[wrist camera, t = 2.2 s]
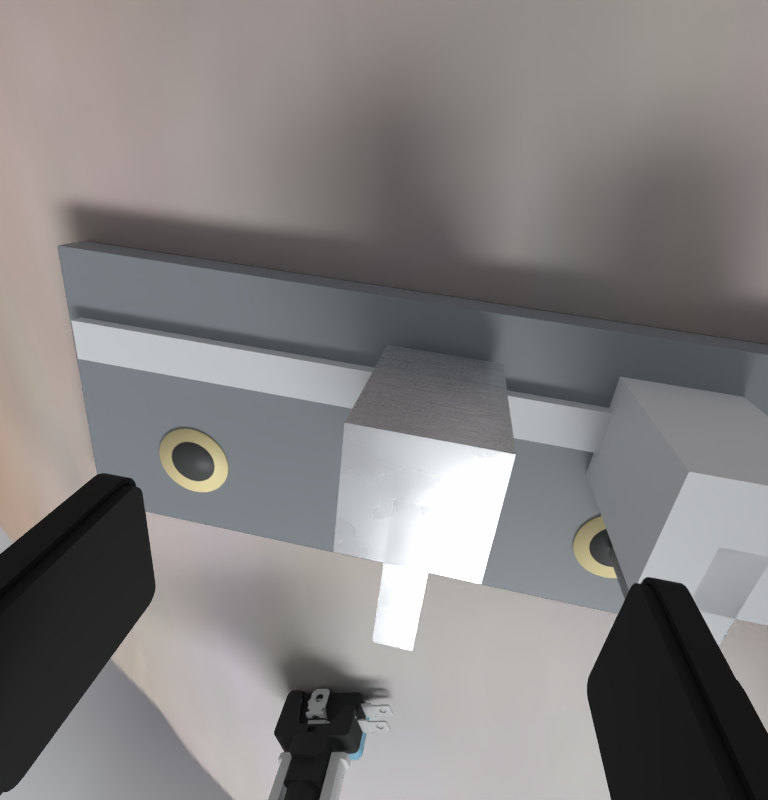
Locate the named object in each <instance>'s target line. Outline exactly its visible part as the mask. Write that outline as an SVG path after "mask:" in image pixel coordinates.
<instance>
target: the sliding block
mask: <svg viewBox="0 0 768 800" xmlns="http://www.w3.org/2000/svg"><path fill="white" fill-rule="evenodd" d="M515 456H516V452H515V445H514V437H513V430H512V423H511V416H510V408H509V401H508V394H507V387H506V380H505V372H504V365H503V364H500V363H494V362H488V361H482V360H476V359H470V358H464V357H458V356H452V355H446V354H440V353H434V352H428V351H422V350H416V349H409V348H403V347H397V346H391V345H387V347H386V348H385V350H384V352H383V354H382V356H381V357H380V359H379V361H378V363H377V365H376V367H375V368H374V370H373V372H372V374H371V376H370V377H369V379H368V381H367V383H366V385H365V386H364V388H363V390H362V392H361V394H360V396H359V397H358V399H357V401H356V403H355V405H354V406H353V408H352V410H351V412H350V414H349V415H348V417H347V419H346V421H345V423H344V435H343V446H342V458H341V469H340V481H339V492H338V504H337V515H336V527H335V538H334V550H333V552H336V553H341V554H346V555H350V556H355V557H359V558H364V559H369V560H373V561H378V562H382V563H384V565H383V572H382V578H381V585H380V592H379V599H378V606H377V612H376V619H375V626H374V633H373V639H372V642H376V643H380V644H385V645H389V646H393V647H397V648H402V649H406V650H410V651H412V649H413V644H414V639H415V634H416V630H417V625H418V620H419V615H420V610H421V605H422V600H423V595H424V590H425V585H426V580H427V575H428V572H429V573H433V574H438V575H442V576H447V577H452V578H456V579H461V580H465V581H470V582H475V583H479V584H481V582H482V578H483V574H484V571H485V567H486V563H487V560H488V556H489V552H490V548H491V545H492V541H493V537H494V534H495V530H496V526H497V522H498V519H499V515H500V511H501V508H502V504H503V500H504V497H505V493H506V489H507V485H508V482H509V478H510V474H511V471H512V467H513V463H514V460H515Z"/></svg>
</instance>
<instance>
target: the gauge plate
mask: <svg viewBox="0 0 768 800" xmlns="http://www.w3.org/2000/svg"><path fill="white" fill-rule="evenodd" d="M58 252H59V258H60V264H61V269H62V275H63V281H64V287H65V292H66V298H67V304H68V310H69V315H70V321H71V327H72V333H73V338H74V344H75V350H76V356H77V361H78V367H79V373H80V378H81V384H82V390H83V396H84V401H85V407H86V413H87V419H88V424H89V430H90V436H91V442H92V447H93V453H94V459H95V465H96V470H97V475H98V474H101V473H107V474H112V475H117V476H123V477H128V478H131V479H133V480H134V481H135V483H136V486H137V487H139V488H140V489H141V490H142V493H143V499H144V507H145V511H146V512H150V513H155V514H159V515H164V516H169V517H173V518H178V519H182V520H187V521H192V522H196V523H201V524H205V525H210V526H215V527H219V528H224V529H228V530H233V531H238V532H242V533H247V534H251V535H256V536H261V537H265V538H270V539H274V540H279V541H284V542H288V543H293V544H297V545H302V546H307V547H311V548H316V549H320V550H325V551H330V552H333V550H334V538H335V527H336V515H337V504H338V492H339V481H340V469H341V458H342V446H343V435H344V423H345V421H346V419H347V417H348V415H349V414H350V412H351V410H352V408H353V406H354V405H355V403H356V401H357V399H358V397H359V396H360V394H361V392H362V390H363V388H364V386H365V385H366V383H367V381H368V379H369V377H370V376H371V374H372V372H373V370H374V368H375V367H376V365H377V363H378V361H379V359H380V357H381V356H382V354H383V352H384V350H385V348H386V347H387V345H391V346H397V347H403V348H409V349H416V350H422V351H428V352H434V353H440V354H446V355H452V356H458V357H464V358H470V359H476V360H482V361H488V362H494V363H500V364H503V365H504V372H505V380H506V387H507V394H508V401H509V408H510V416H511V423H512V430H513V437H514V445H515V452H516V456H515V460H514V463H513V467H512V471H511V474H510V478H509V482H508V485H507V489H506V493H505V497H504V500H503V504H502V508H501V511H500V515H499V519H498V522H497V526H496V530H495V534H494V537H493V541H492V545H491V548H490V552H489V556H488V560H487V563H486V567H485V571H484V574H483V578H482V582H481V584H482V585H486V586H491V587H495V588H500V589H505V590H509V591H514V592H518V593H523V594H528V595H532V596H537V597H541V598H546V599H551V600H555V601H560V602H564V603H569V604H574V605H578V606H583V607H587V608H592V609H597V610H601V611H606V612H610V613H615V614H618V613H619V611H620V609H621V607H622V605H623V603H624V600H625V598H626V596H627V594H628V592H629V590H630V588H631V586H632V585H633V584H634V583H638V584H641V582H642V581H643V579H645V578H646V577H652V578H657V579H662V580H667V581H673V582H678V583H682V584H683V585H685V586H686V587H687V589H688V590H689V592H690V594H691V596H692V597H693V599H694V601H695V603H696V605H697V607H698V609H699V611H700V612H701V614H702V616H703V618H704V620H705V622H706V624H707V626H708V627H709V629H710V631H711V633H712V635H713V637H714V639H715V641H716V643H717V644H718V646H719V645H720V643H721V641H722V640H723V638H724V636H725V635H726V633H727V631H728V630H729V628H730V626H731V625H732V623H733V621H734V620H735V619H738V620H743V621H747V622H752V623H757V624H761V625H766V626H768V345H767V344H760V343H754V342H747V341H740V340H734V339H727V338H721V337H714V336H708V335H701V334H694V333H688V332H681V331H675V330H668V329H661V328H655V327H648V326H642V325H635V324H629V323H622V322H615V321H609V320H602V319H596V318H589V317H582V316H576V315H569V314H563V313H556V312H550V311H543V310H536V309H530V308H523V307H517V306H510V305H503V304H497V303H490V302H484V301H477V300H470V299H464V298H457V297H451V296H444V295H438V294H431V293H424V292H418V291H411V290H405V289H398V288H391V287H385V286H378V285H372V284H365V283H359V282H352V281H345V280H339V279H332V278H326V277H319V276H312V275H306V274H299V273H293V272H286V271H279V270H273V269H266V268H260V267H253V266H247V265H240V264H233V263H227V262H220V261H214V260H207V259H200V258H194V257H187V256H181V255H174V254H168V253H161V252H154V251H148V250H141V249H135V248H128V247H121V246H115V245H108V244H102V243H95V242H88V241H84V242H78V243H71V244H65V245H58ZM334 553H336V552H334ZM339 554H341V553H339ZM343 555H346V554H343ZM348 556H350V555H348ZM353 557H355V556H353ZM357 558H359V557H357ZM362 559H364V558H362ZM366 560H369V559H366ZM371 561H373V560H371ZM376 562H378V561H376ZM380 563H382V562H380ZM428 573H429V572H428ZM431 574H433V573H431ZM436 575H438V574H436ZM440 576H442V575H440ZM445 577H447V576H445ZM449 578H452V577H449ZM454 579H456V578H454ZM459 580H461V579H459ZM463 581H465V580H463ZM468 582H470V581H468ZM472 583H475V582H472ZM477 584H479V583H477Z"/></svg>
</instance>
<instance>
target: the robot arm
mask: <svg viewBox="0 0 768 800" xmlns="http://www.w3.org/2000/svg"><path fill="white" fill-rule="evenodd" d="M154 593H155V578H154V571H153V564H152V557H151V550H150V542H149V535H148V528H147V521H146V514H145V507H144V499H143V493H142V490H141V489H140V488H139V487H137V486H136V483H135V481H134V480H133V479H131V478H128V477H123V476H117V475H112V474H107V473H101V474H98V475H96V476H95V477H93V478H92V479H91V480H90V481H89V482H87V483H86V484H85V485H84V486H82V487H81V488H80V489H79V490H78V491H76V492H75V493H74V494H73V495H72V496H70V497H69V498H68V499H67V500H65V501H64V502H63V503H62V504H61V505H59V506H58V507H57V508H56V509H55V510H53V511H52V512H51V513H50V514H48V515H47V516H46V517H45V518H44V519H42V520H41V521H40V522H39V523H38V524H36V525H35V526H34V527H33V528H31V529H30V530H29V531H28V532H27V533H25V534H24V535H23V536H22V537H20V538H19V539H18V540H17V541H16V542H14V543H13V544H12V545H11V546H10V547H9V548H7V549H6V550H5V551H4V552H2V553H1V554H0V795H1V794H2V793H3V792H8V791H10V790H11V789H13V788H14V787H15V786H16V785H17V784H18V783H19V782H20V781H21V779H22V778H23V777H24V776H25V774H26V773H27V771H28V770H29V769H30V767H31V766H32V764H33V763H34V762H35V760H36V759H37V757H38V756H39V755H40V753H41V752H42V751H43V749H44V748H45V747H46V745H47V744H48V743H49V741H50V740H51V738H52V737H53V736H54V734H55V733H56V731H57V730H58V729H59V728H60V726H61V725H62V723H63V722H64V721H65V719H66V718H67V717H68V715H69V714H70V712H71V711H72V710H73V708H74V707H75V706H76V704H77V703H78V702H79V700H80V699H81V697H82V696H83V695H84V693H85V692H86V691H87V689H88V688H89V686H90V685H91V684H92V682H93V681H94V680H95V678H96V677H97V675H98V674H99V673H100V671H101V670H102V669H103V667H104V666H105V665H106V663H107V662H108V660H109V659H110V658H111V656H112V655H113V654H114V652H115V651H116V649H117V648H118V647H119V645H120V644H121V643H122V641H123V640H124V639H125V637H126V636H127V634H128V633H129V632H130V630H131V629H132V628H133V626H134V625H135V623H136V622H137V621H138V619H139V618H140V617H141V615H142V614H143V613H144V611H145V610H146V608H147V607H148V606H149V604H150V602H151V601H152V598H153V596H154ZM587 696H588V701H589V706H590V710H591V714H592V719H593V723H594V727H595V731H596V736H597V740H598V744H599V749H600V753H601V757H602V762H603V766H604V770H605V775H606V779H607V783H608V788H609V792H610V796H611V800H768V733H767V731H766V730H765V728H764V726H763V724H762V722H761V720H760V718H759V717H758V715H757V713H756V711H755V709H754V707H753V705H752V703H751V702H750V700H749V698H748V696H747V694H746V692H745V691H744V689H743V688H742V686H741V685H740V683H739V682H738V681H737V680H736V678H735V676H734V674H733V673H732V671H731V669H730V667H729V665H728V663H727V661H726V659H725V658H724V656H723V654H722V652H721V650H720V648H719V646H718V644H717V643H716V641H715V639H714V637H713V635H712V633H711V631H710V629H709V627H708V626H707V624H706V622H705V620H704V618H703V616H702V614H701V612H700V611H699V609H698V607H697V605H696V603H695V601H694V599H693V597H692V596H691V594H690V592H689V590H688V589H687V587H686V586H685V585H683V584H682V583H678V582H673V581H667V580H662V579H657V578H652V577H646V578H645V579H643V581H642V582H641V584H638V583H634V584H633V585H632V586H631V588H630V590H629V592H628V594H627V596H626V598H625V600H624V603H623V605H622V607H621V609H620V611H619V613H618V615H617V618H616V620H615V622H614V624H613V626H612V628H611V630H610V633H609V635H608V637H607V639H606V641H605V643H604V645H603V648H602V650H601V652H600V654H599V656H598V658H597V660H596V663H595V665H594V667H593V669H592V671H591V673H590V675H589V678H588V683H587Z"/></svg>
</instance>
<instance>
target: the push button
mask: <svg viewBox="0 0 768 800" xmlns="http://www.w3.org/2000/svg"><path fill="white" fill-rule="evenodd" d="M381 708H383V709H385V710H386V712H382V711H380V709H381ZM392 714H393V712H392V710H391V708H390V705H371V703H367V704H365V703H364V701H363V699H362V697H361V695H360V693H336V694H330V691H329V690H328V689H316V690H315V691H313V693H312V694H311V695H303V693H302V692H301V691H292V692H290V693H289V694H288V696H287V699H286V701H285V704H284V707H283V709H282V712H281V715H280V717H279V720H278V723H277V725H276V728H275V731H274V735H275V736H276V738H277V740H278V742H279V743H280V745H281V747H282V748H283V750H284V752H282V753H281V754H280V757H279V760H278V761H279V763H280V767H279V770H278V772H277V775H276V778H275V781H274V784H273V787H272V790H271V793H270V796H269V799H268V800H339V795H340V791H341V787H342V782H343V778H344V773H345V770H347V769H349V768H350V764H351V760H357V759H359V758H360V757H361V756H362V754H363V749H364V743H365V738H366V733H373V732H378V731H390V727H389V725H388V723H387V721H369V718H370V717H376V715H392ZM378 724H380V725H382V726H383V728H379V727H377V725H378Z"/></svg>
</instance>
